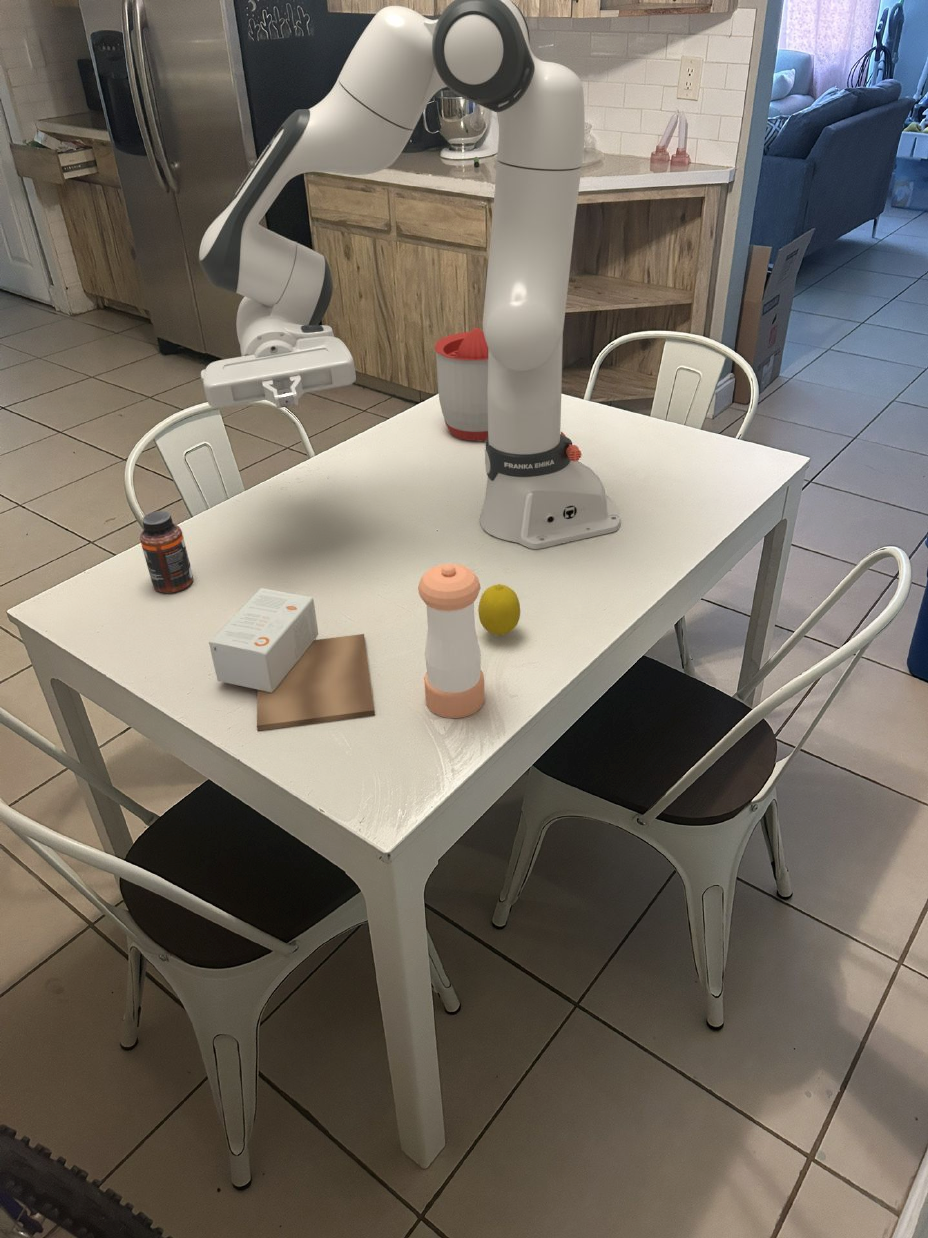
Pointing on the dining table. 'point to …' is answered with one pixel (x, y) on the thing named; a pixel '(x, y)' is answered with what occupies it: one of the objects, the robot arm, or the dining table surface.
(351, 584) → the dining table surface
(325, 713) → the walnut board
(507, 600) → the lemon
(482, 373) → the citrus juicer
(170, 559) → the supplement bottle
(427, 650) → the pepper shaker
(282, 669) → the small box
